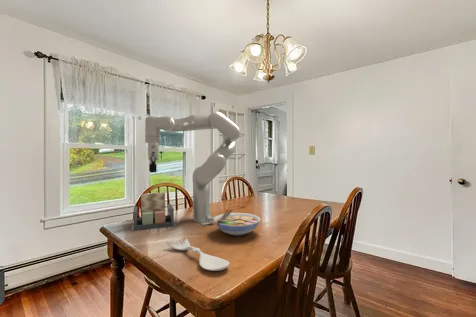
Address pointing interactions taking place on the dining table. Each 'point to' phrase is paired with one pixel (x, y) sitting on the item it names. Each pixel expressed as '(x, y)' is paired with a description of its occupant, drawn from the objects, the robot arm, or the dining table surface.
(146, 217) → the sage offcut
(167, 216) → the offcut rack
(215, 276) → the dining table surface
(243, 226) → the ramen bowl
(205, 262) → the white spork utensil
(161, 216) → the terracotta offcut
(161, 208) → the birch sheet
